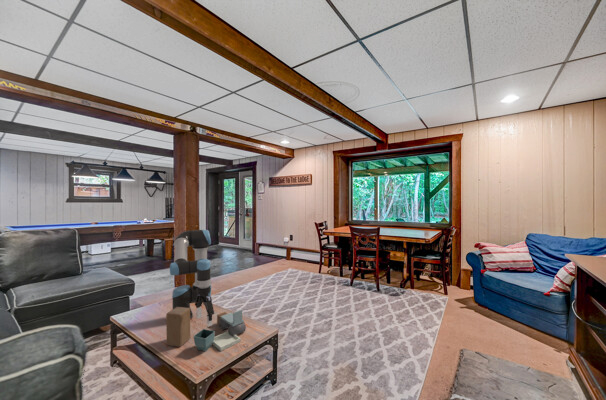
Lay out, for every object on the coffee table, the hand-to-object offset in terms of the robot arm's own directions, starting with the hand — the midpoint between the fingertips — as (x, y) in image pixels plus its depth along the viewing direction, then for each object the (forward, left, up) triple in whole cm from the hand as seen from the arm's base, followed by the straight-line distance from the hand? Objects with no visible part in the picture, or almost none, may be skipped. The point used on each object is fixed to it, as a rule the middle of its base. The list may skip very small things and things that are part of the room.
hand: (204, 321), depth 152 cm
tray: (+3, +12, -16) cm, 20 cm away
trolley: (-6, +22, -16) cm, 28 cm away
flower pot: (0, 0, -16) cm, 16 cm away
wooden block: (-18, -8, -16) cm, 26 cm away
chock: (-19, +22, -16) cm, 33 cm away
